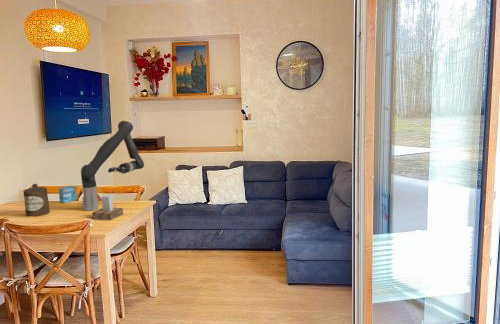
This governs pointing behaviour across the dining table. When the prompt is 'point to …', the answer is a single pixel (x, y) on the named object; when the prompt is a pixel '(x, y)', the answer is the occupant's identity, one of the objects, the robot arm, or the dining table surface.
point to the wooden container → (36, 201)
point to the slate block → (107, 202)
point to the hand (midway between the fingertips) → (114, 171)
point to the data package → (67, 194)
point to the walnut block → (107, 214)
